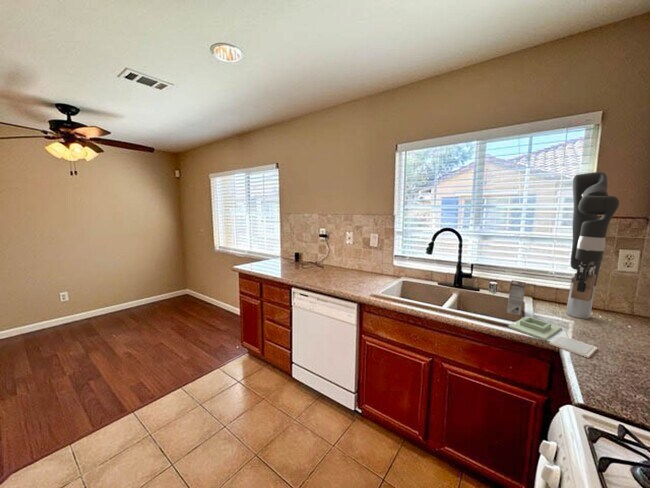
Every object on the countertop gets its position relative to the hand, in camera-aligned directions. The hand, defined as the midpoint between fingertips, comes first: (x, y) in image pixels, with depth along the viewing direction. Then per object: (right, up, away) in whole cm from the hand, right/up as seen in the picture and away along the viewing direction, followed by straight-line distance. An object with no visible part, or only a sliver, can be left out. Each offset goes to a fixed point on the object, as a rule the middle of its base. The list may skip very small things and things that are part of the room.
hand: (582, 290), depth 105 cm
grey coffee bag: (0, -19, +39) cm, 43 cm away
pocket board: (-4, -21, +19) cm, 29 cm away
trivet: (-1, -24, +4) cm, 24 cm away
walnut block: (0, -3, +1) cm, 3 cm away
